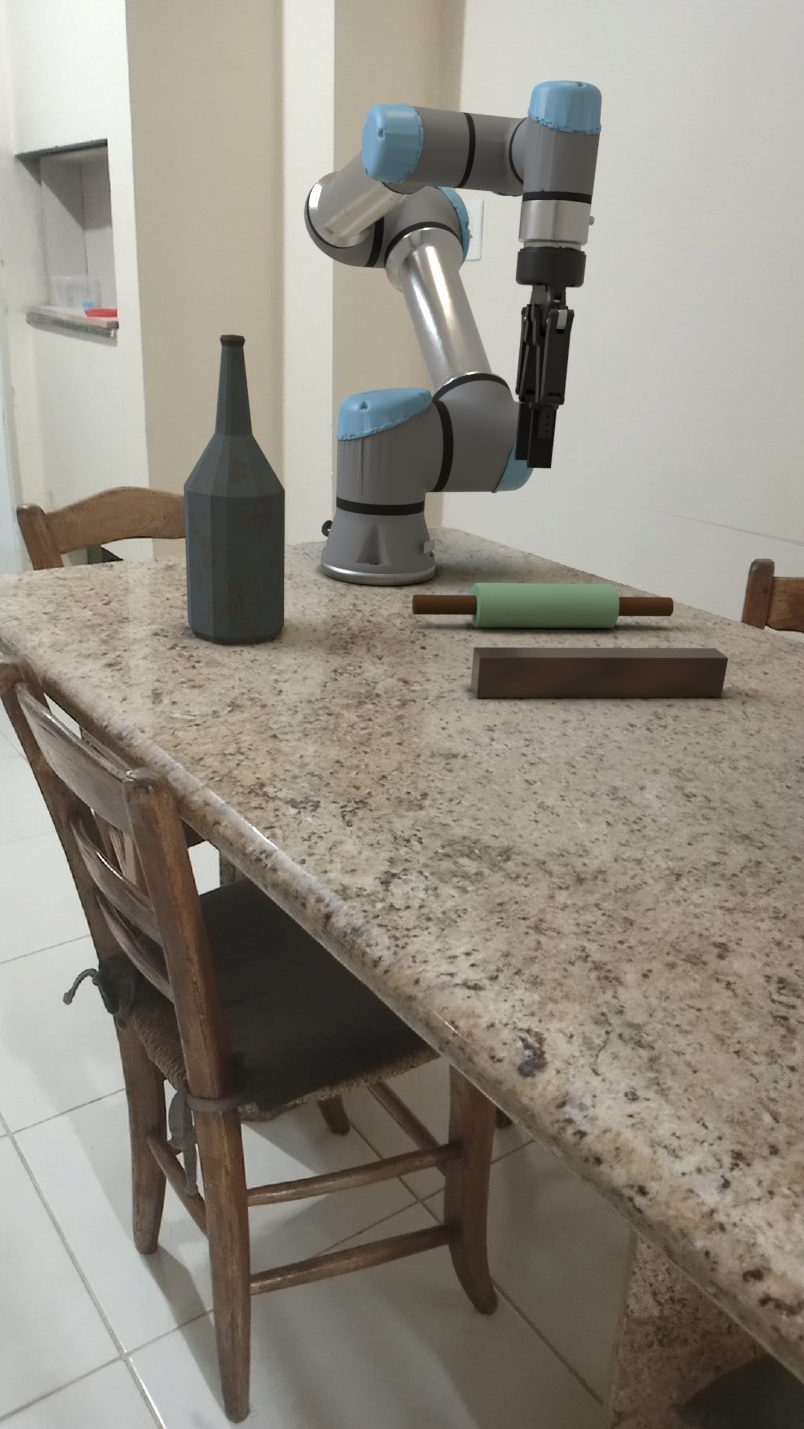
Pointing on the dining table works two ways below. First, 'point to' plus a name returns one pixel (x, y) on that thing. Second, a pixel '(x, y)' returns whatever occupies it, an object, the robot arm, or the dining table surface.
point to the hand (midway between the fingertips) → (532, 463)
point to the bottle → (234, 523)
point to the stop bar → (597, 672)
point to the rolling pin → (542, 605)
